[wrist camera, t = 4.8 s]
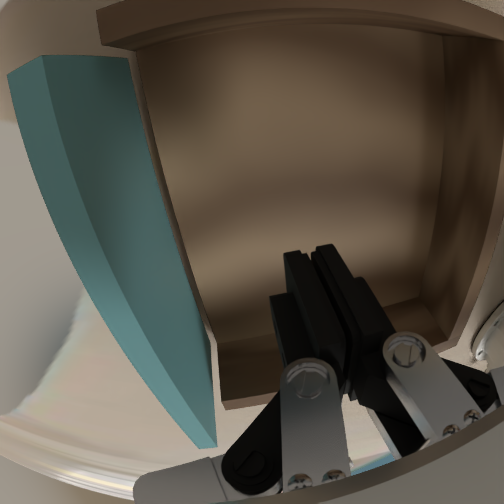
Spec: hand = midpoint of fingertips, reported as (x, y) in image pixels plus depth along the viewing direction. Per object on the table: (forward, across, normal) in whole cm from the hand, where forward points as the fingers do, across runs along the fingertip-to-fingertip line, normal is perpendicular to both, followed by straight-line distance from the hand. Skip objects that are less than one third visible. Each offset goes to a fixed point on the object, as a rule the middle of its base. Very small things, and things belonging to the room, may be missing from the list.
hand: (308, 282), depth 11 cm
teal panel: (+6, +5, 0) cm, 8 cm away
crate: (+7, -3, 0) cm, 8 cm away
